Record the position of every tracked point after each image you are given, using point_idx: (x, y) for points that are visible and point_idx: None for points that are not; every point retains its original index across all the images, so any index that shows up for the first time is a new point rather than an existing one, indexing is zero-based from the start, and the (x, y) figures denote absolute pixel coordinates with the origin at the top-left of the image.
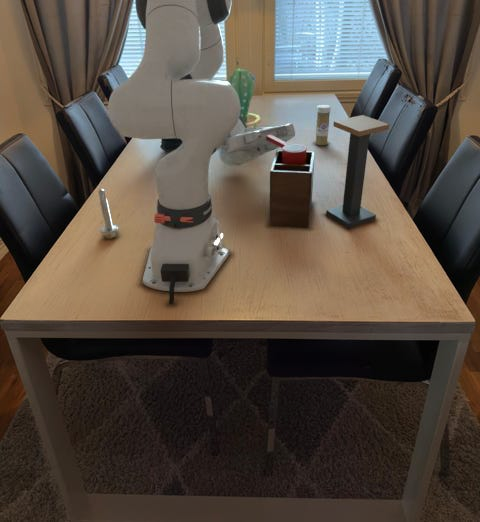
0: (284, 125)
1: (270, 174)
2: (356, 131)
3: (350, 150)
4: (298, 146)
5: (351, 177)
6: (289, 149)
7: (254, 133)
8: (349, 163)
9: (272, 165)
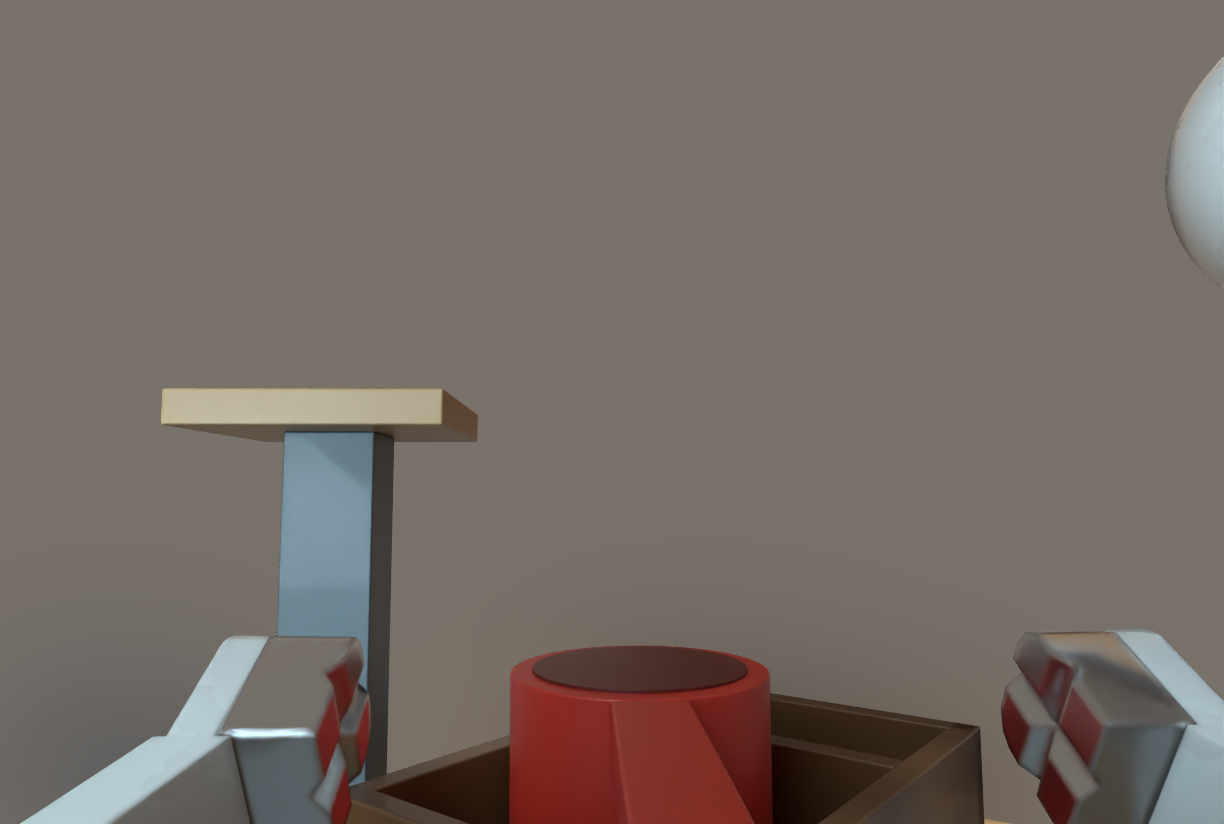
0: (346, 652)
1: (976, 755)
2: (474, 418)
3: (374, 585)
4: (582, 666)
5: (379, 760)
6: (712, 661)
7: (1168, 678)
8: (373, 677)
9: (933, 756)
